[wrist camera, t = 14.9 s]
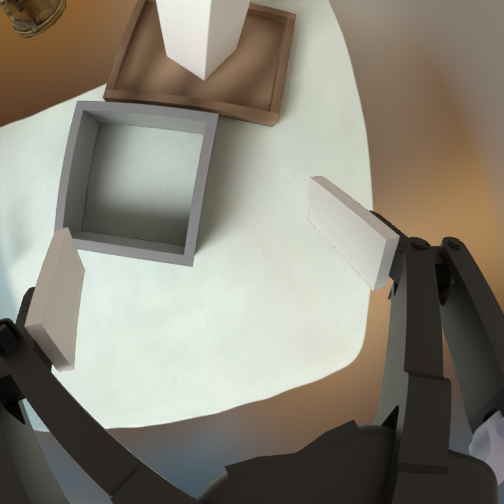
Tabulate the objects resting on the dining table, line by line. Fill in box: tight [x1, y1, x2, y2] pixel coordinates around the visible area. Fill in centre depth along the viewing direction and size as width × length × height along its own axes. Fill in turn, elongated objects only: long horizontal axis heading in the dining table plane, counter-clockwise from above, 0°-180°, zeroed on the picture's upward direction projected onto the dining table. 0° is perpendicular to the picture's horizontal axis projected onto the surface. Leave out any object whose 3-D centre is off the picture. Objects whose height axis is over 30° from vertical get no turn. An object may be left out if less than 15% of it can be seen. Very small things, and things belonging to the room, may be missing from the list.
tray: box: [103, 0, 296, 127], centre depth 30 cm, size 20×16×2 cm
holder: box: [54, 101, 219, 267], centre depth 30 cm, size 15×15×6 cm
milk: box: [156, 0, 251, 81], centre depth 20 cm, size 6×6×22 cm
